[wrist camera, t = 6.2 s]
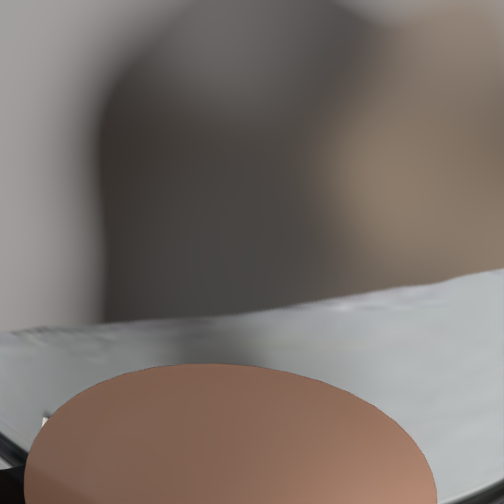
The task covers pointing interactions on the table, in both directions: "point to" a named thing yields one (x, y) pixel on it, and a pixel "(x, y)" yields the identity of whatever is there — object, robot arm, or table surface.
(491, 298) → the table surface
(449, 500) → the table surface
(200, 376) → the tumbler
